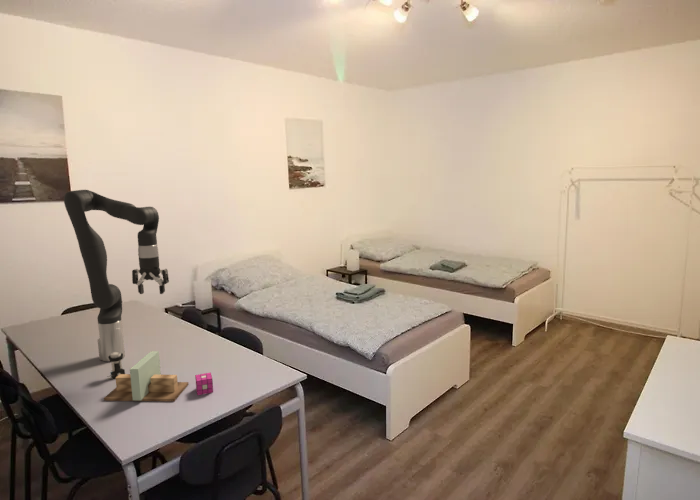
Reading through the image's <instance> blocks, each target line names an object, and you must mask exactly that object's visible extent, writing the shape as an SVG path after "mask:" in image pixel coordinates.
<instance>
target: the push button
mask: <svg viewBox="0 0 700 500" xmlns="http://www.w3.org/2000/svg"><path fill="white" fill-rule="evenodd" d="M108 358H109V360H110V361H109V362H110V363H111V371H110V372H109V373H110V375H108V376H106V377H107V380H111V379H112V380H116V377H117V376H118V375H119V374H126V373H125V369H124V368H123V366H122V364H123V363H122V360H123V359H124V357H123V354H122V353H120V352H113V353H111V355H110V356H109V357H108Z"/></svg>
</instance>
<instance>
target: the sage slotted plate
mask: <svg viewBox="0 0 700 500" xmlns="http://www.w3.org/2000/svg"><path fill="white" fill-rule="evenodd" d="M161 372H162V371H161V362H160V351H159V350H153V351H152V350H151V351H149V353H147V354H146V355H145V356H144V357H142V359H140V360H139V361H138V362H136V363H135V364H134V365H133V366H132V367H131V368H129V374H130V376H131V387H132V397H133V400H140V401H139V402H142V401H141V400H142V399H143V398H144V397H145V396H146V395H147V394H148V393H149V391H148V385H149V384H150V383H151V379H150V378H151V377H152V376H153V375H154V374H155V375H162V374H161Z"/></svg>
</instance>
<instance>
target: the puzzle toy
mask: <svg viewBox="0 0 700 500" xmlns="http://www.w3.org/2000/svg"><path fill="white" fill-rule="evenodd" d="M213 382H214V381H213V377H212V372H205V373H200V374H196V375H195V390H196V394H197V396H200V395H206V394H207V395H208V394H211V393H214V385H213Z"/></svg>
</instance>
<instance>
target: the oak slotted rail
mask: <svg viewBox="0 0 700 500" xmlns="http://www.w3.org/2000/svg"><path fill="white" fill-rule="evenodd" d="M150 379H151V383H150V384H149V385H148V391H149V393H148V394H147V395H146V396H145V397H144V398H143V399H142V400H141V401H140V400H133V397H132V387H131V376H130V373H129V374H127V373H125V374H119V375H118V376H117V377H116V378H115V388H114V389H112V391H111V392H109V393H108V394H106V396H104V397H103V401H108V402H109V401H110V402H111V401H112V402H117V401H118V402H176V400H177V399H178V398H179V397H180V395H181V394H182V393H183V392H184V391H185V389H186V388H187V387H188V386H189V382H187V381H178V374H161V375H155V374H154V375H153V376H152V377H151V378H150Z"/></svg>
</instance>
